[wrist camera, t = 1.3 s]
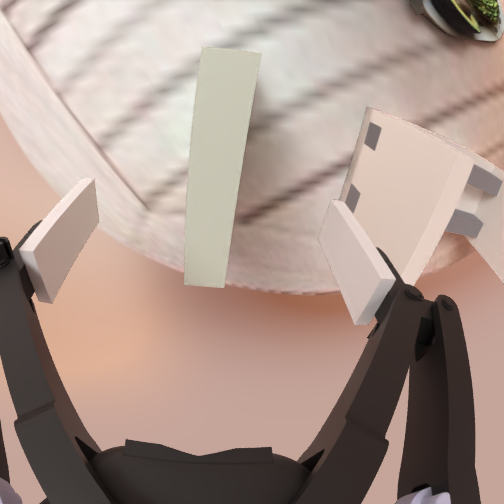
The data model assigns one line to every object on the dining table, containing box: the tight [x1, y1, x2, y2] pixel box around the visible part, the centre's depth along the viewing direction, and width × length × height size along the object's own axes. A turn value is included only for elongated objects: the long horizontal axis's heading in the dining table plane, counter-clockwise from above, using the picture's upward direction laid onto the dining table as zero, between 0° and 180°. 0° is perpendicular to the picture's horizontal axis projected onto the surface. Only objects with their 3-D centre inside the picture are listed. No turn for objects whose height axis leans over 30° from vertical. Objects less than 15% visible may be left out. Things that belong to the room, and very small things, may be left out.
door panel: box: [184, 47, 262, 288], centre depth 21 cm, size 16×3×12 cm, turn 171°
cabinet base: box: [339, 107, 504, 286], centre depth 24 cm, size 24×12×14 cm, turn 81°
